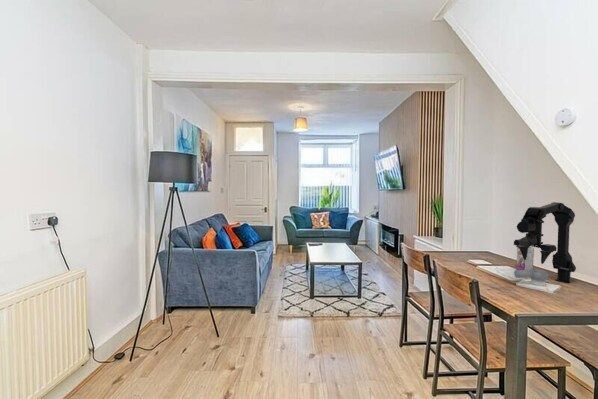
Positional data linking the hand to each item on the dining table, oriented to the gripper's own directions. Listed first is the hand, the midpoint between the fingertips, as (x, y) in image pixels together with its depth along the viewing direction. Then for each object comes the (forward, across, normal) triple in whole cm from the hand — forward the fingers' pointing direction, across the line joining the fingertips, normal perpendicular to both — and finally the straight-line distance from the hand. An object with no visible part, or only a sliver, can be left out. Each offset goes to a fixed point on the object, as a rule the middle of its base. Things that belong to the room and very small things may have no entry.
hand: (533, 261), depth 173 cm
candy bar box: (+14, -22, +24) cm, 36 cm away
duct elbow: (+9, -1, 0) cm, 9 cm away
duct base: (+13, +1, +3) cm, 14 cm away
